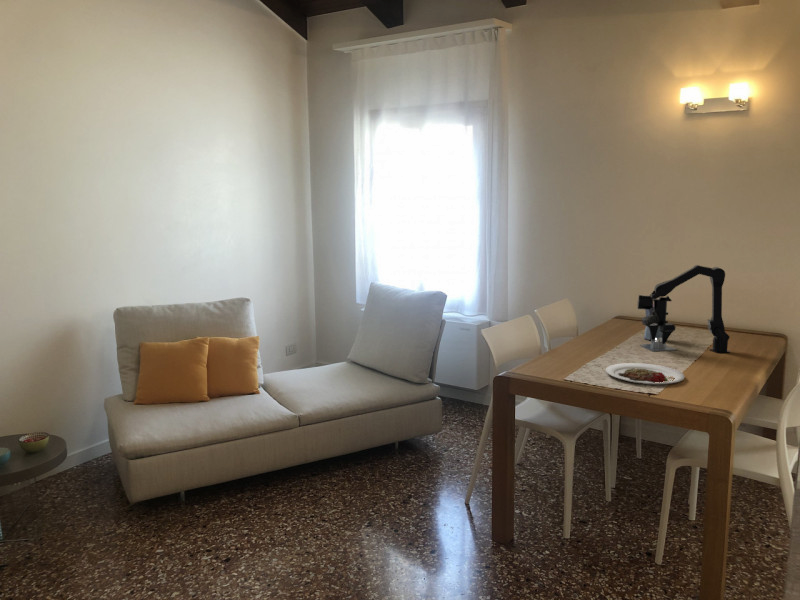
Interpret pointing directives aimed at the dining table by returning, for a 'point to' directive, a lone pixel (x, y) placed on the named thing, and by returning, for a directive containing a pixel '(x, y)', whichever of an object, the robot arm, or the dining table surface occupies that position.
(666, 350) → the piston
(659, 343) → the ring
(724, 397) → the dining table surface
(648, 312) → the moka pot
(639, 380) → the plated food
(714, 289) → the robot arm
